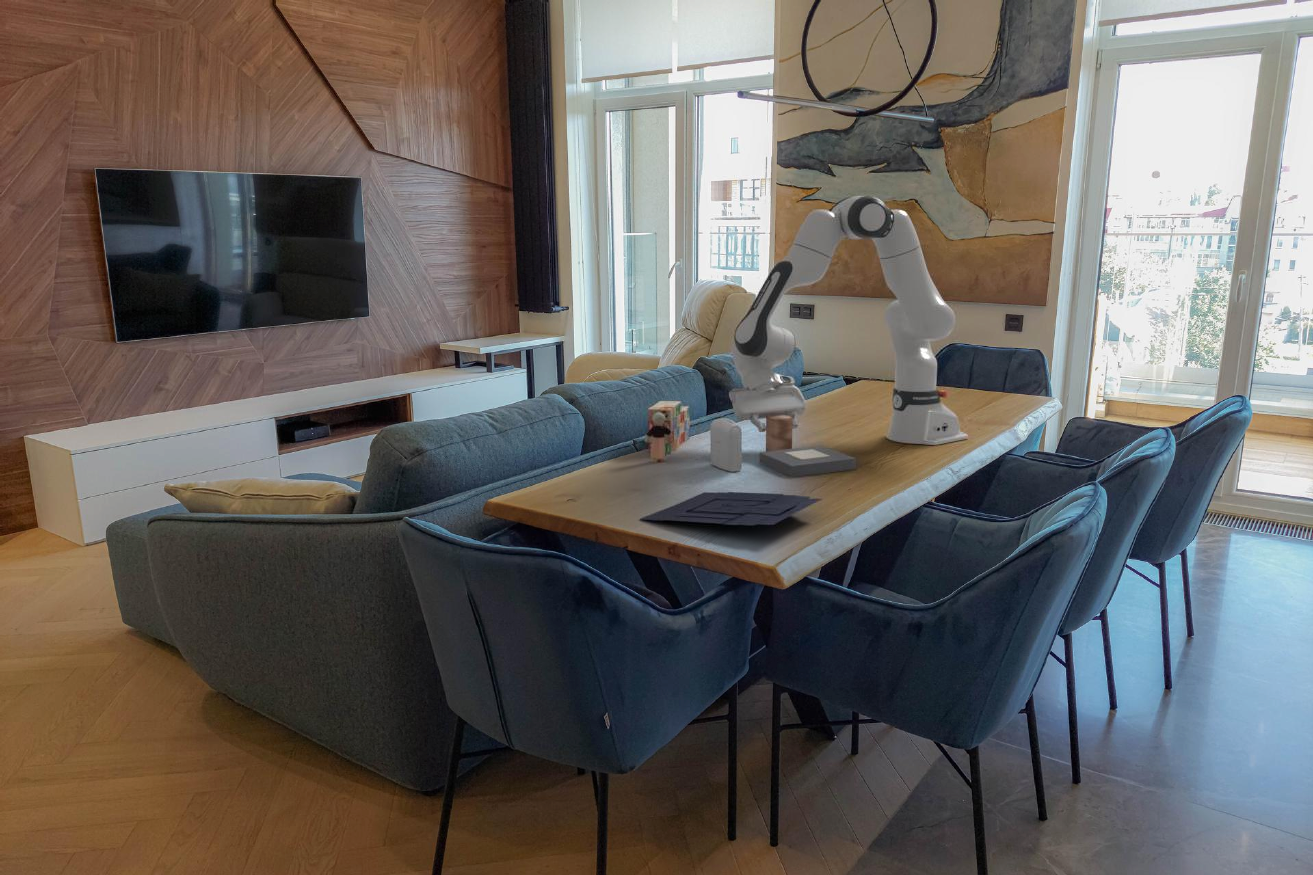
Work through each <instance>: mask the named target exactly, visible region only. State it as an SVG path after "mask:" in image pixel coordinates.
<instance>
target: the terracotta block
mask: <svg viewBox="0 0 1313 875" xmlns="http://www.w3.org/2000/svg"><path fill="white" fill-rule="evenodd" d="M792 422H793V418H791V417H789V416H785V415H775V416H766V418H765V426H766V428H767V429H766V430H765V452H767V451H776V450H785V449H793V429H792Z"/></svg>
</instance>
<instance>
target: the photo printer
mask: <svg viewBox="0 0 1313 875" xmlns="http://www.w3.org/2000/svg"><path fill="white" fill-rule="evenodd" d="M709 429H710V430H709V431H710V464H711V465H712V466H715V467H717V468H719V469H721V470H725V471H728V472H730V473H734V472H735V473H736V472H740V471H741V470H742V469H743V468H742V466H743V465H742V464H743V463H742V458H743V457H742V451H743V450H742V444H743V443H742V439H743V438H742V435H743V434H742V428H741V426H740V425H739V424H737V422H735V421H734V420H732V419H730V418H727V417H725V418H724V417H721V418H716V419H714V420H713V421H712V422H711V424H710V428H709Z"/></svg>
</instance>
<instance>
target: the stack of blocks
mask: <svg viewBox="0 0 1313 875" xmlns="http://www.w3.org/2000/svg"><path fill="white" fill-rule="evenodd" d="M658 412H660V413H662V414H664V416H665V418H666V419H665V421H664V423H663V425H662V426H665V427H667V428H668V429H669V430H670V431H671V434H672V436H673V439H669V436H668V435H666V434H665V435H664V436H665V455H666V454H667V455H671V454H672V453H674V452H675V451H676V450H678V449H679V448H680V447H679V446H682V445H683V444H684V443H685V442H686V441H687V440H689V439H690V438H691V428H690V427H691V426H690V425H691V424H690V421H691V419H690V406H683V405H682V401H676V400H675V401H673V400H660V401H658V402H657V403H655V404H654V405H652V406H650V407H648V409H647V418H648V420H647V430H648V432H649V430H650V429H651V428H652V427H653V426H656V425H655V424H654V421H653V418H652V417H653V416H654V414H655V413H658ZM652 438H653V436H651V437H650V438H649V440H648V454H651V445H652ZM684 441H685V442H684ZM683 442H684V443H683ZM682 443H683V444H682ZM681 444H682V445H681Z"/></svg>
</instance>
